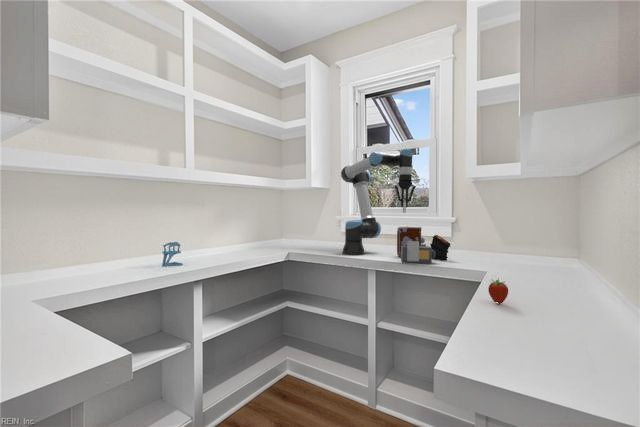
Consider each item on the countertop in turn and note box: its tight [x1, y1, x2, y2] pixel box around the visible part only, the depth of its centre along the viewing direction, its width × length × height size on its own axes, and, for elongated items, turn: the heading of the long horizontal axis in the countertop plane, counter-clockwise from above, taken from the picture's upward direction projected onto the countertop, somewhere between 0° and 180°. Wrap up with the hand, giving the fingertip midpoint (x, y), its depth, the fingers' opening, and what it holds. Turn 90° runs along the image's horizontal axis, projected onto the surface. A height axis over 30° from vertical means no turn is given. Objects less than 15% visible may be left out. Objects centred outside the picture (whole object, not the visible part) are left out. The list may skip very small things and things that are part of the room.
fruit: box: [488, 277, 509, 304], centre depth 97 cm, size 5×5×8 cm
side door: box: [407, 241, 419, 261], centre depth 176 cm, size 6×1×11 cm, turn 80°
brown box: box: [396, 225, 427, 258], centre depth 203 cm, size 9×19×20 cm, turn 89°
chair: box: [161, 241, 184, 267], centre depth 160 cm, size 8×8×12 cm
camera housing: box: [400, 245, 435, 265], centre depth 180 cm, size 18×10×10 cm, turn 80°
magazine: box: [429, 234, 451, 262], centre depth 192 cm, size 4×13×15 cm, turn 29°
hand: (404, 212), depth 192 cm, fingers closed
